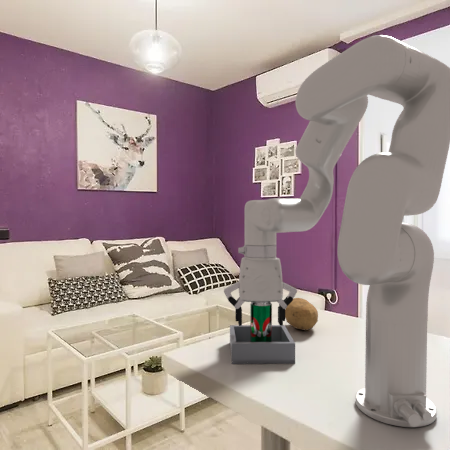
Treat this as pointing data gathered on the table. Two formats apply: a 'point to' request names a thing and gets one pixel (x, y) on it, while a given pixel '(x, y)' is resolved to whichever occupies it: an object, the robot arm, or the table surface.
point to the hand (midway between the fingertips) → (260, 324)
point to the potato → (301, 314)
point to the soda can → (260, 322)
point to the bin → (261, 347)
